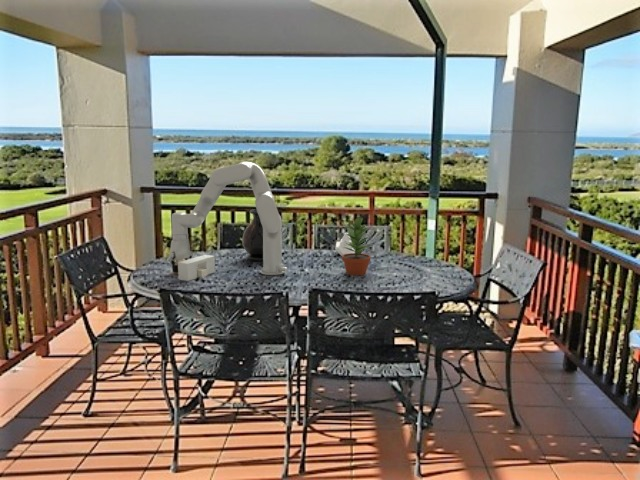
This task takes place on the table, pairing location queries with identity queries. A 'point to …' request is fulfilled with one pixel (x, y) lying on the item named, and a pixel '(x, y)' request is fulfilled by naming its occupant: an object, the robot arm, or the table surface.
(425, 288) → the table surface
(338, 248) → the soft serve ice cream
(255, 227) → the amphora vase
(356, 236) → the potted plant
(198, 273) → the plug
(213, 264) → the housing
